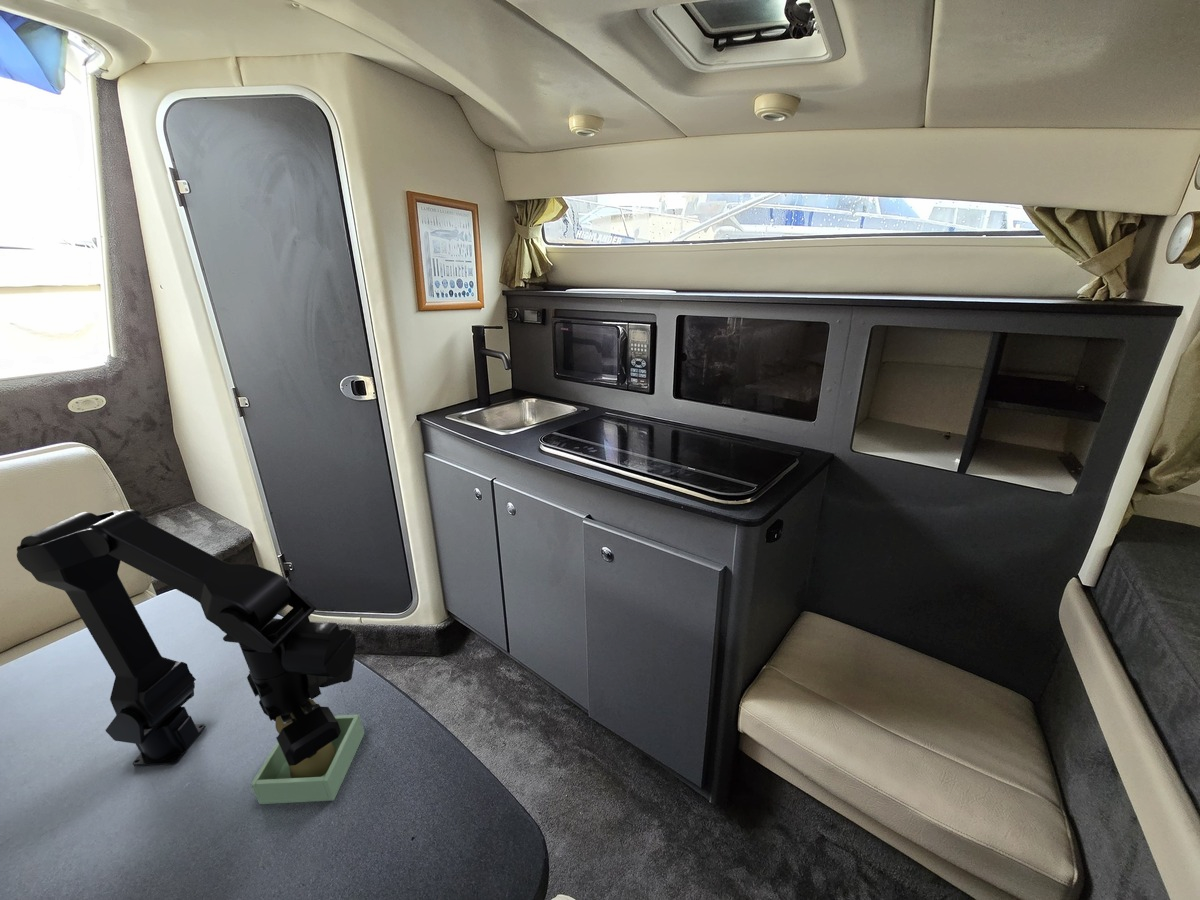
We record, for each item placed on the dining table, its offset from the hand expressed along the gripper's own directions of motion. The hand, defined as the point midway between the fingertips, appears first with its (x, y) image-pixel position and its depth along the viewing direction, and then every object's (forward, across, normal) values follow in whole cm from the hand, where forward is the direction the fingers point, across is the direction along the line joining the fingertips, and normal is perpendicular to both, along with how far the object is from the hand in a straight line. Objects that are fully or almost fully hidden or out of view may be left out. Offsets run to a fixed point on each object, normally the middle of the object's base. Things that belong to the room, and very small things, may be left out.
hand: (307, 745), depth 71 cm
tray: (+4, 0, 0) cm, 4 cm away
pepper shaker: (+4, 0, 0) cm, 4 cm away
